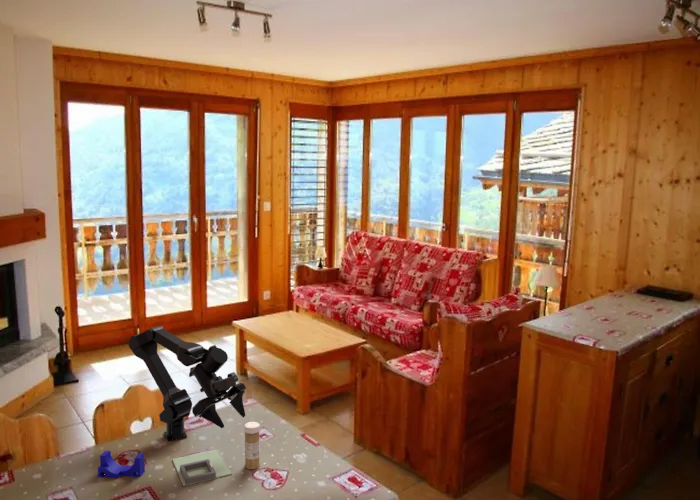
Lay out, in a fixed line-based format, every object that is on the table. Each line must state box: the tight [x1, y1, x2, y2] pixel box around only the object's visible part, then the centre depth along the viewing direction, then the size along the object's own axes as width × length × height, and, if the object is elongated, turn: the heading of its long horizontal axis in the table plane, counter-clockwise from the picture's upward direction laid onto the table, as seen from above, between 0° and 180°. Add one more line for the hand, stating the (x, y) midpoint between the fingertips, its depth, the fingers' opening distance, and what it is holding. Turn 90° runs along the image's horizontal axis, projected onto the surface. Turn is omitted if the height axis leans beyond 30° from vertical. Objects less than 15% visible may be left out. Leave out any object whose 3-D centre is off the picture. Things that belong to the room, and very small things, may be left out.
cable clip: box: [97, 450, 146, 479], centre depth 164 cm, size 12×4×6 cm, turn 85°
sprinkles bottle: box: [243, 421, 261, 470], centre depth 169 cm, size 5×5×14 cm
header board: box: [172, 449, 232, 487], centre depth 169 cm, size 16×14×2 cm
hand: (234, 422), depth 172 cm, fingers open, 9 cm apart
